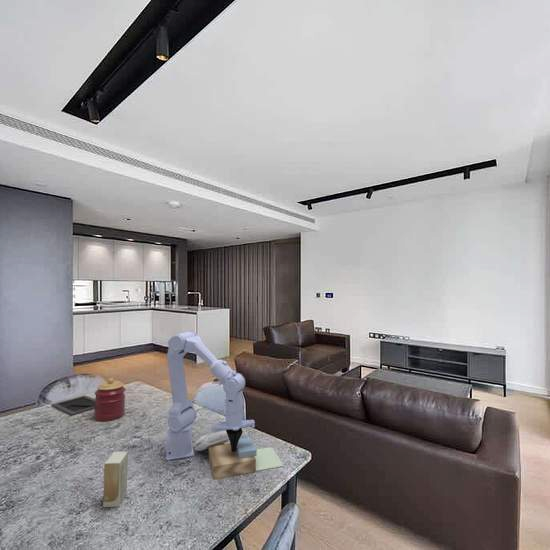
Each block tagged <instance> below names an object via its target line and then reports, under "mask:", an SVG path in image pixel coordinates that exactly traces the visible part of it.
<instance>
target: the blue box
mask: <svg viewBox="0 0 550 550" xmlns="http://www.w3.org/2000/svg"><path fill="white" fill-rule="evenodd" d="M236 452H237V454H238V457H239V459H240V458H247V457H253V456H257V448H256V446H255V444H254V442H253V440H252V438H251V437H247V438H240V439H239V441H238V444H237V448H236Z"/></svg>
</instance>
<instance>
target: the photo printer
mask: <svg viewBox="0 0 550 550" xmlns="http://www.w3.org/2000/svg"><path fill="white" fill-rule="evenodd" d="M227 442H230V440H229V437H228V435H227V432H226V430H225V431H217V432H216V433H213V432H210V433H207V434H204V435H203V436H201V437H199V438H198V439H197V440H196V441H195V443H194V446H195V450H196V451H198V452H203V451H206V450H209V447H210V446H217V445H224V444H227Z"/></svg>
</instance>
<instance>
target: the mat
mask: <svg viewBox="0 0 550 550" xmlns="http://www.w3.org/2000/svg"><path fill="white" fill-rule="evenodd" d="M256 450H257V456H254V457H255V459H256V472H260V471H267V470H273V469H278V468H284V467H285V466H284V464H283V462H282V460H281V459H280V457H279V456H278V454H277V452H276V451H275V450H274V447H272V446H271V447H265V448H258V449H257V448H256Z"/></svg>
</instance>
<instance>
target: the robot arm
mask: <svg viewBox="0 0 550 550" xmlns="http://www.w3.org/2000/svg"><path fill="white" fill-rule="evenodd" d="M167 345H168V350H167V353H166V357H167V366H168V374H169V375H168V376H169V382H170V389H171V397H172V398H171V399H172V405H171V407H170V408H169V410H168V420H167V425H168V428H169V429H166V435H165V436H166V437H165V438H166V443H165V446H164V452H165V460H166V461H171V460H177V459H184V458H191V457H194V449H193V425H194V422H195V421H196V419H197V411H196V409H195V407H194V403H193V401H192V400H190V399H189V395H188V387H187V379H186V373H185V365H184V357H185V355H186V354H187V353H194V354H195V355H197V356H198V357H199V358H200V359H201V360H202V361H203V362H205V363H206V364H207V365H208V366H209V367H210V368H209V369H210V371H209V372H210V373H211V374H212V375H213V377H215V378H216V379H217V380H218V381H219V382H220V384H221V385H222V389H223V391H224V392H225V421H223V422H220V423H217V424H212V428H211V429H212V430H211V431H212V433H216V432H217V431H225V430H226V432H227V435H228V437H229V444H230V445H231V451H232V452H236V448H237V444H238V441H239V439H241V437H242V435H243V429H247V428H251V429H253V428H255V426H256V425H255V424H256V422H255V420H254V419H243V396H244V395H243V389H244V388H245V387H246V379H245V377H244V375H243V374H242V373H238V372H236V371H235V370H233V369H232V368H231V367H230V366H229V365H228V362H227V361H226V360H223V359H217V357H216V356H215V355H214V354H213V353H212V352H211V351H210V350H209V349H208V347H207V346H206V345H205V344H204V342H203V341H202V339H201V337H200V336H199V335H198V334H197V333H196V332H195V331H193V330H190V331H186V332H181V333H176V334H173V335H172V336H171V337H170V339H168V341H167Z"/></svg>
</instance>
